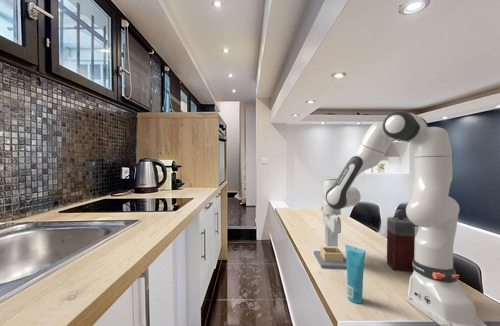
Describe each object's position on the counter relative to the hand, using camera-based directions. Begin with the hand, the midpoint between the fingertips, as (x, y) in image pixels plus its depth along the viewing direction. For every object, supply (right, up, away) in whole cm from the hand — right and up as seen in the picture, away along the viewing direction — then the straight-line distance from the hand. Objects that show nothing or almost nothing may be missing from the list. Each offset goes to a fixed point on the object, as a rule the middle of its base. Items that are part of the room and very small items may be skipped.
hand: (331, 236), depth 119 cm
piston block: (0, -4, 0) cm, 4 cm away
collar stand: (0, -12, 0) cm, 12 cm away
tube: (-3, -12, -34) cm, 36 cm away
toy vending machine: (+32, -13, -5) cm, 35 cm away
